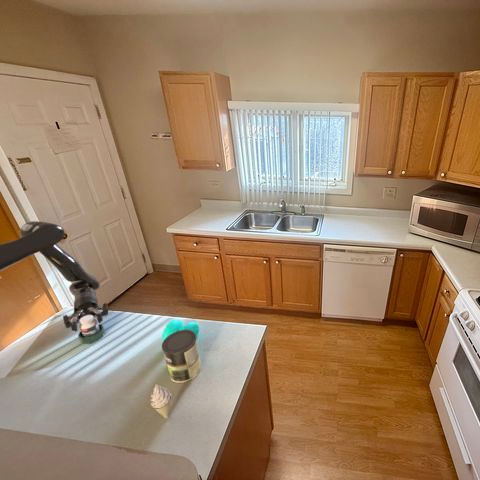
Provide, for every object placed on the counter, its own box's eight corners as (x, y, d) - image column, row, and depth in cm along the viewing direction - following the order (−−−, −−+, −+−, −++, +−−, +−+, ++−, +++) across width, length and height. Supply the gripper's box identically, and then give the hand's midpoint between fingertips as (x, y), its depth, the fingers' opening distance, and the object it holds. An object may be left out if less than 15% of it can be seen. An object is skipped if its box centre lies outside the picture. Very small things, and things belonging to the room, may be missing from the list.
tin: (77, 346, 98) (74, 340, 97) (85, 332, 104) (83, 326, 103) (101, 341, 101) (99, 335, 100) (108, 328, 107) (105, 322, 106)
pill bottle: (82, 342, 99) (75, 324, 96) (86, 333, 103) (78, 316, 100) (99, 337, 102) (93, 320, 98) (102, 329, 106) (96, 312, 102)
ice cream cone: (155, 417, 76) (143, 383, 70) (173, 406, 79) (163, 372, 73) (160, 430, 73) (148, 396, 67) (179, 418, 76) (169, 384, 70)
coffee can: (173, 389, 84) (165, 358, 78) (166, 367, 91) (158, 338, 86) (205, 372, 90) (200, 342, 85) (197, 353, 97) (191, 325, 92)
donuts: (187, 354, 97) (182, 335, 93) (163, 350, 98) (158, 330, 94) (202, 335, 106) (198, 316, 102) (180, 332, 107) (176, 313, 103)
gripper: (59, 303, 103) (58, 326, 92) (104, 290, 112) (108, 310, 101) (66, 317, 106) (65, 341, 95) (109, 304, 115) (113, 324, 104)
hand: (87, 325), depth 98 cm, fingers open, 6 cm apart
